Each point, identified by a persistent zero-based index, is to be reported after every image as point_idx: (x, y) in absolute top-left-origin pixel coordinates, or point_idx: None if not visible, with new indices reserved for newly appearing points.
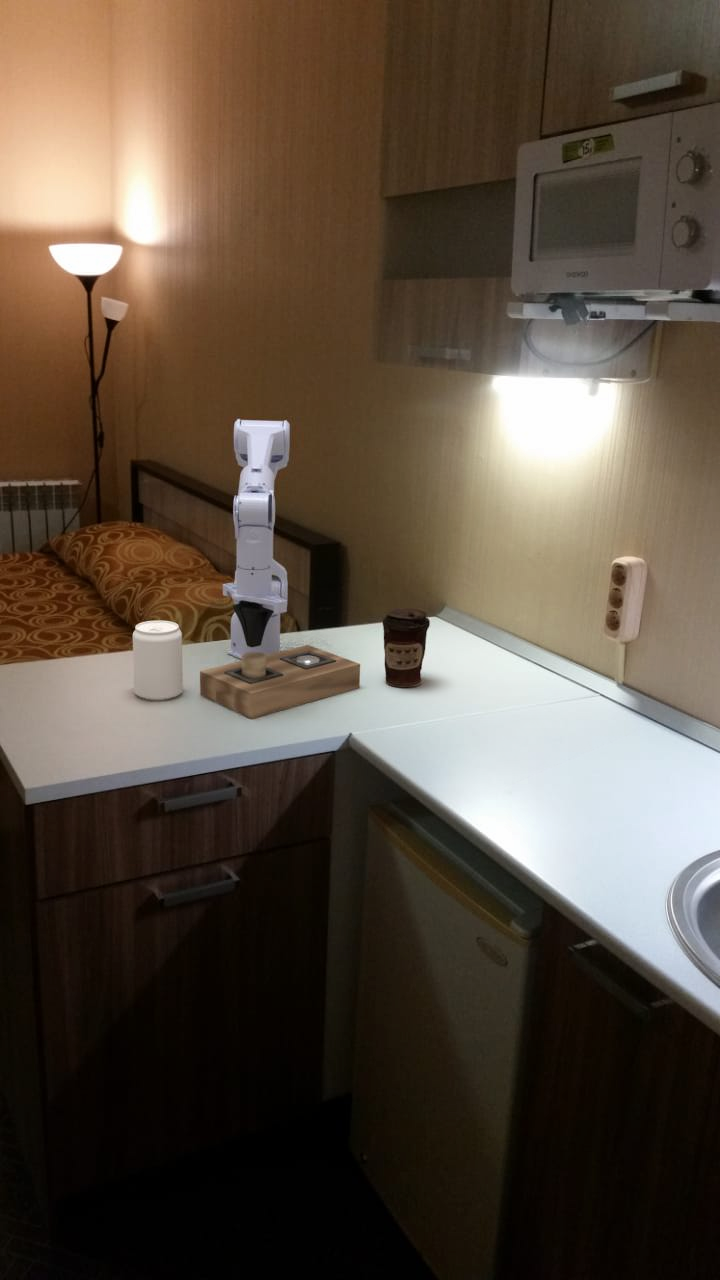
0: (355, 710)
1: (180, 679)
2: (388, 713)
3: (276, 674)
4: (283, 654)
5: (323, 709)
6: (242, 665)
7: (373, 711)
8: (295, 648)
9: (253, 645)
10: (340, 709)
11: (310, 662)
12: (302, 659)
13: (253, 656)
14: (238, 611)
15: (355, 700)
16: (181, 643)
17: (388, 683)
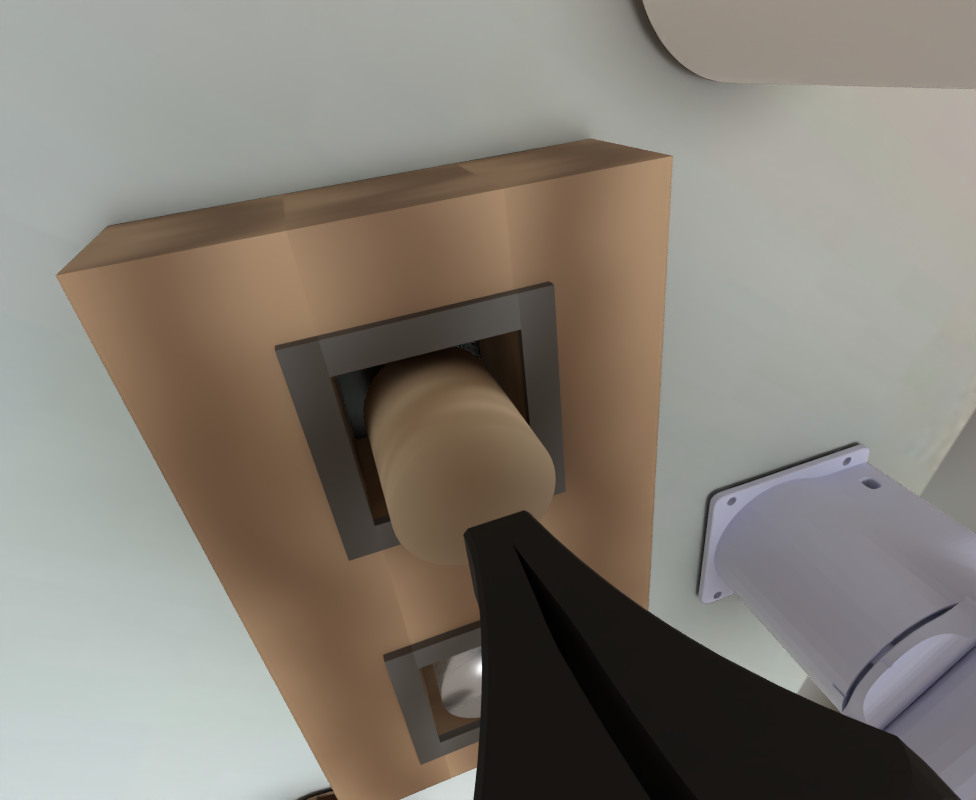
0: (86, 681)
1: (703, 13)
2: (5, 770)
3: (356, 530)
4: None
5: (145, 582)
6: (473, 394)
7: (50, 731)
8: None
9: (468, 554)
10: (120, 637)
11: (446, 686)
12: None
13: (463, 494)
14: (772, 782)
15: (212, 696)
16: (952, 28)
17: (321, 796)
